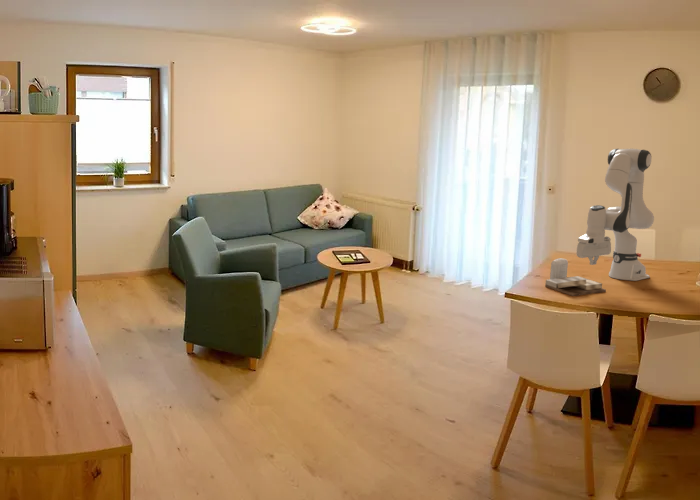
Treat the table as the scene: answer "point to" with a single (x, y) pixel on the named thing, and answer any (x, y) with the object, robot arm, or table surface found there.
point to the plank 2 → (590, 285)
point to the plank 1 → (571, 283)
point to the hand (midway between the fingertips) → (593, 264)
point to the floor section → (571, 290)
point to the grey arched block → (559, 268)
